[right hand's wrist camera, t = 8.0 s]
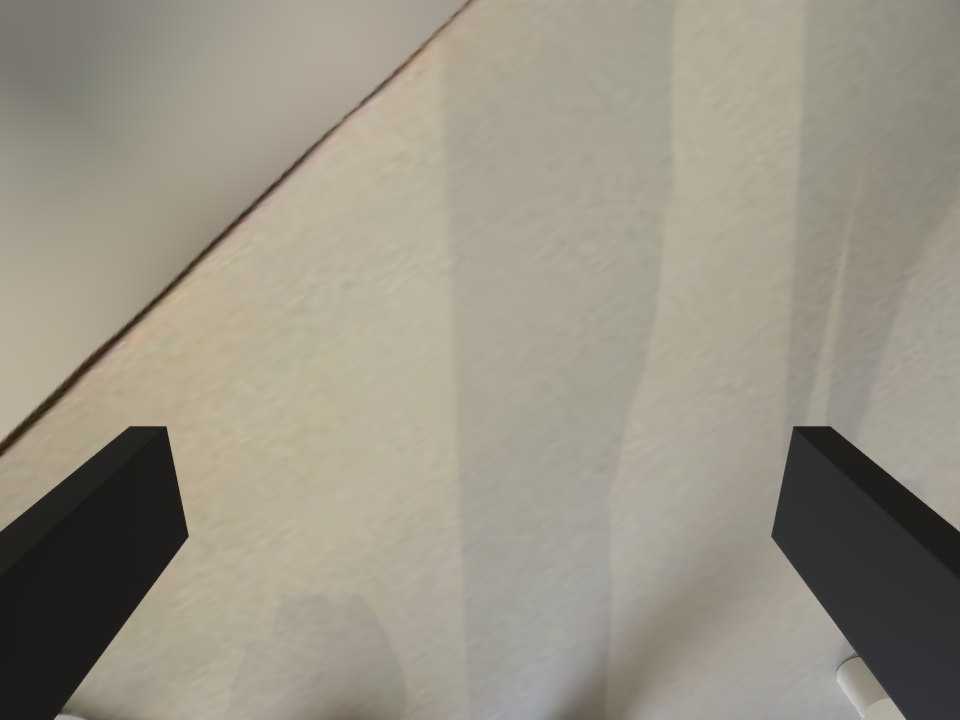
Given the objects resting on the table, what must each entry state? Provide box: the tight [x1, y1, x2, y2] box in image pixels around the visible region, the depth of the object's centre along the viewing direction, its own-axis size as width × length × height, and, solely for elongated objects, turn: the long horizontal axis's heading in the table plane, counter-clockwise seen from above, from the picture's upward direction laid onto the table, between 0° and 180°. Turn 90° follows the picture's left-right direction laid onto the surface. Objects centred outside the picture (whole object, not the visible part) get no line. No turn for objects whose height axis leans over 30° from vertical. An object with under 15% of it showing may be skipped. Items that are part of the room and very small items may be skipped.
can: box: [836, 657, 905, 720], centre depth 51 cm, size 4×4×4 cm
